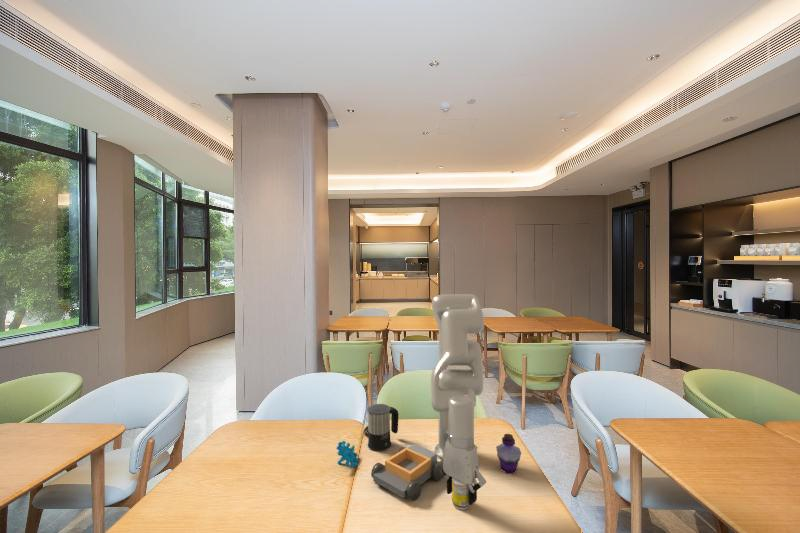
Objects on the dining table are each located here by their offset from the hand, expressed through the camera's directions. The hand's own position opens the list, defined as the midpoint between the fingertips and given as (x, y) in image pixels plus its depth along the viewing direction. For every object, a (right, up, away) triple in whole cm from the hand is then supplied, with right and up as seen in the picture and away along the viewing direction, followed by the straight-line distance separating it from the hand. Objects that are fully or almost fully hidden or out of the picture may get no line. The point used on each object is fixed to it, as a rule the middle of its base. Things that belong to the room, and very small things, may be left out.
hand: (461, 496), depth 110 cm
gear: (-37, -2, +22) cm, 43 cm away
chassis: (-16, -2, +13) cm, 20 cm away
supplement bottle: (0, -3, 0) cm, 3 cm away
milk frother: (-28, -1, +38) cm, 47 cm away
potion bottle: (+19, -2, +18) cm, 26 cm away
